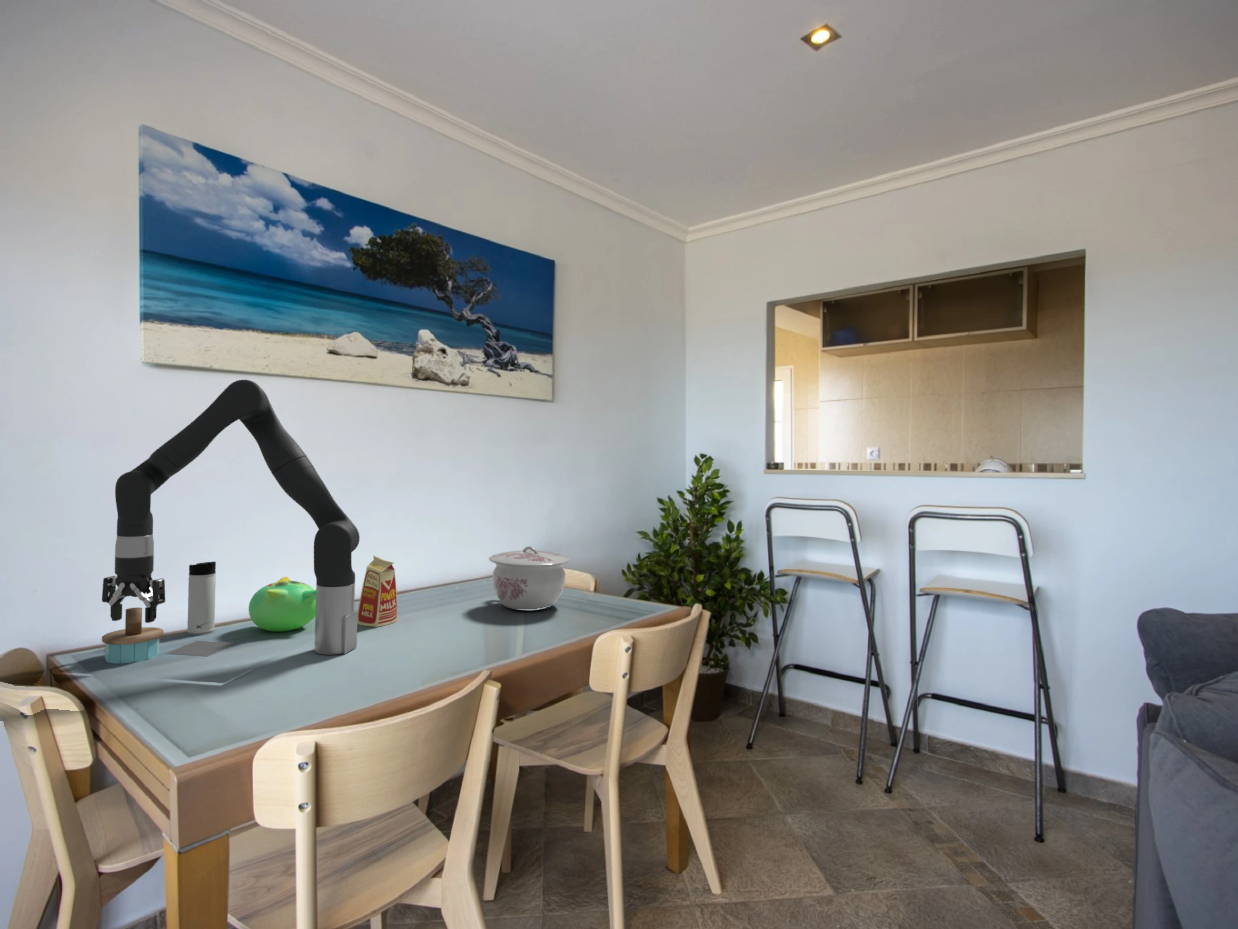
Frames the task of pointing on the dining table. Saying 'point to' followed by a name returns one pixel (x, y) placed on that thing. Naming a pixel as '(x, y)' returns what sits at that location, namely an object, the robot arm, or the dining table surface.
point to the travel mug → (201, 598)
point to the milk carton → (378, 595)
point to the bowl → (131, 652)
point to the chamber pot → (528, 578)
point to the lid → (133, 630)
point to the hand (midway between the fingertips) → (133, 621)
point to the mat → (201, 648)
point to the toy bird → (283, 605)
